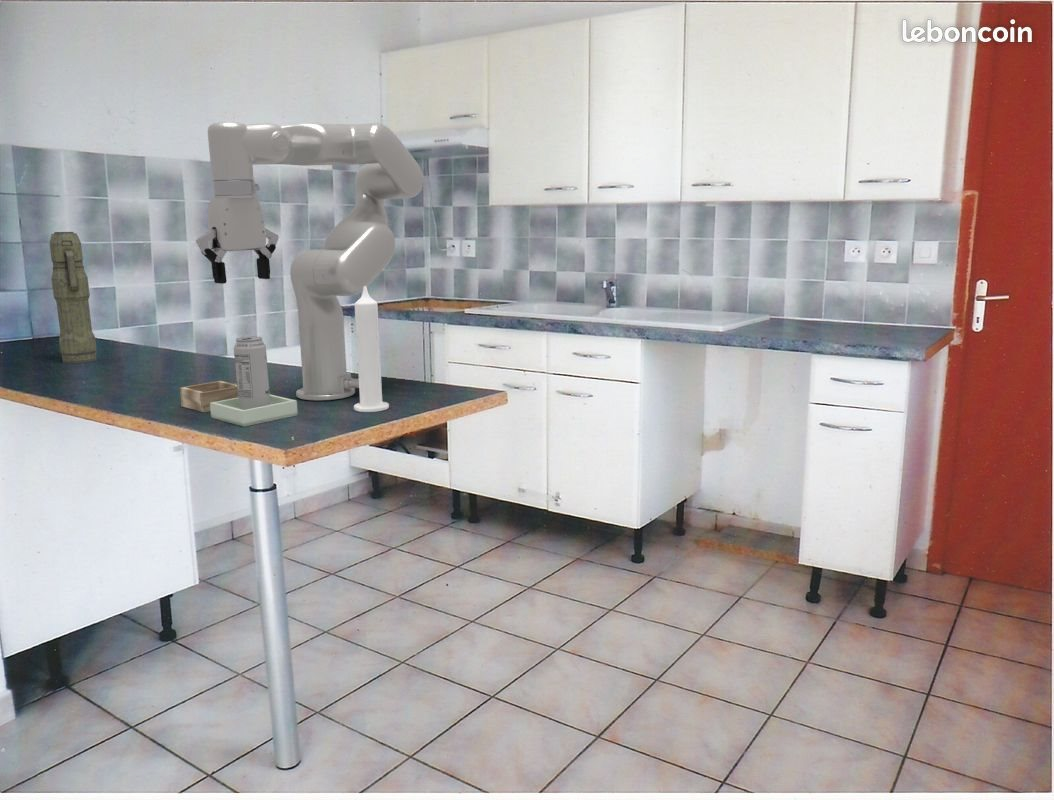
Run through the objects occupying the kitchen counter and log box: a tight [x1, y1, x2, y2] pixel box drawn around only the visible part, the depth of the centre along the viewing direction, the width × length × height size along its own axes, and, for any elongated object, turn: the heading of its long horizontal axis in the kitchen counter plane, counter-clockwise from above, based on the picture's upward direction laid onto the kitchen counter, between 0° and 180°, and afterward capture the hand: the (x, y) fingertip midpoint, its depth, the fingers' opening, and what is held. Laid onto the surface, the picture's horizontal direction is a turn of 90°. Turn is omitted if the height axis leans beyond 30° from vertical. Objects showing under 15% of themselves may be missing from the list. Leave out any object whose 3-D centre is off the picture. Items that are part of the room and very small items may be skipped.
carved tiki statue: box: [49, 231, 98, 364], centre depth 239 cm, size 9×12×35 cm
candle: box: [353, 286, 390, 413], centre depth 177 cm, size 7×7×25 cm
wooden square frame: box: [179, 380, 238, 413], centre depth 184 cm, size 9×9×4 cm
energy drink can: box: [233, 336, 271, 410], centre depth 173 cm, size 6×6×15 cm
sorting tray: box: [209, 394, 299, 428], centre depth 174 cm, size 12×12×3 cm
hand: (242, 280), depth 171 cm, fingers open, 9 cm apart
